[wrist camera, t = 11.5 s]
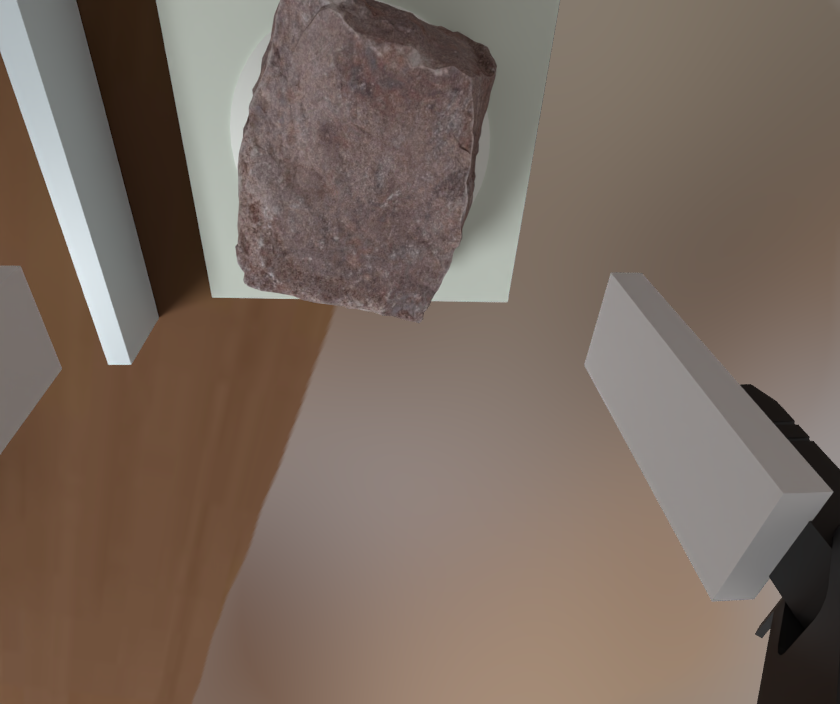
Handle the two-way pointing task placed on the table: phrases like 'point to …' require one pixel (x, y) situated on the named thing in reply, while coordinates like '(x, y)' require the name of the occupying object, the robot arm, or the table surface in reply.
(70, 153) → the acrylic wall
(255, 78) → the rest mat
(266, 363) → the table surface
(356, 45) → the stone
